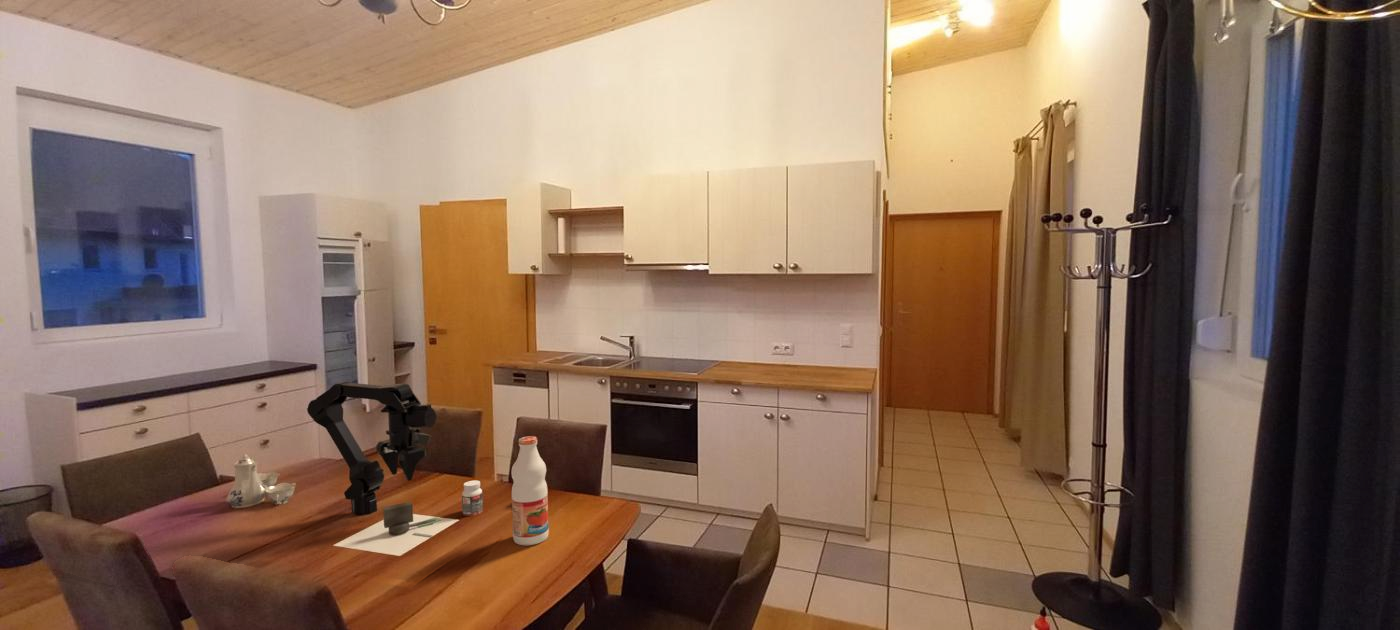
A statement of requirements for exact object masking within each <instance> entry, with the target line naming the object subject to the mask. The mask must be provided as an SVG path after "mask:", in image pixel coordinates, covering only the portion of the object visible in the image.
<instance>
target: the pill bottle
mask: <svg viewBox="0 0 1400 630" xmlns="http://www.w3.org/2000/svg"><path fill="white" fill-rule="evenodd" d="M480 487H481V481H480V480H469V481H466V482H464V483H463V489H464V490H463V491H462V492H461V493H462V494H461V500H462V501H461V502H462V503H461V504H462V505H461V507H462V508H461V509H462V515H463V516H465V517H467V516H468V517H471V516H476V515H480V514H481V513H482V512H483V510H484V509H483V508H484V506H483V489H482V488H480Z"/></svg>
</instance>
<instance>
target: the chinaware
mask: <svg viewBox="0 0 1400 630" xmlns="http://www.w3.org/2000/svg"><path fill="white" fill-rule="evenodd" d="M258 463H259V460H258V459H255V458H252V457H250V456H249V455H247V454H246V453H244V454H243V456H242V457H241V458H240V459H239V460H237V462H236V461H235V462H234V463H233V464H232V466H233V468H234V472H235V477H234V478H235V479H234V483H233V485H232V488H231V489H230V491H229V493H228V494H227V497H226V500H225V501H226V502H227V503H228V504H230V505H231V508H233V509H242V508H249V507H253V506H257V505H260V504H261V502H262V503H263V502H265V500H266V499H265V498H266V497H267V498H268V500H269V501H271V502H273V503H274V505H276V506H278V504H279V505H284V504H286V503H288V502H289V501H288V500H290V498H291V497H293V494H294V493H295V488H296V486H297V482H292V483H289V482H280V483H278V484H276V483H277V481H278V480H277V479H278V476H281V473H280V472H278V473H277V471H275V470H273V471H269V472H266V473H264V472H263V473H262V472H261V473H258V467H257V466H258ZM275 484H276V485H275Z"/></svg>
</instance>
